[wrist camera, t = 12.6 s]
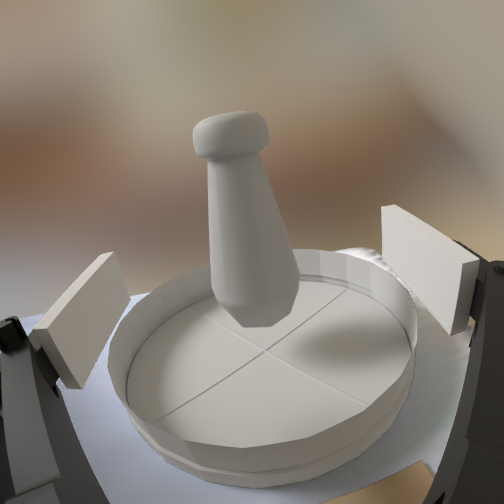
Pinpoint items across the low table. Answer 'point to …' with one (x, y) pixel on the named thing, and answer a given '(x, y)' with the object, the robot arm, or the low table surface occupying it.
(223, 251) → the salt shaker
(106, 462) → the low table surface
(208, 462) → the dish
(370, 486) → the cork coaster
